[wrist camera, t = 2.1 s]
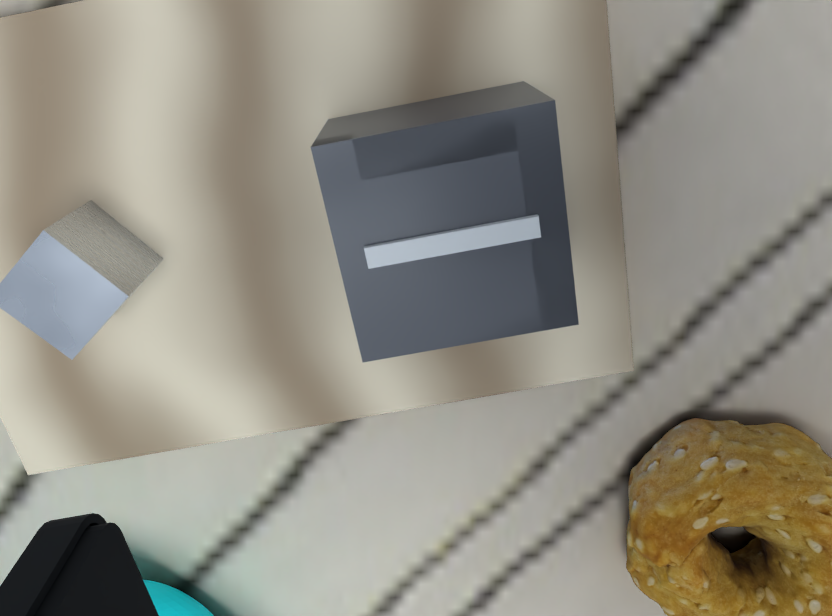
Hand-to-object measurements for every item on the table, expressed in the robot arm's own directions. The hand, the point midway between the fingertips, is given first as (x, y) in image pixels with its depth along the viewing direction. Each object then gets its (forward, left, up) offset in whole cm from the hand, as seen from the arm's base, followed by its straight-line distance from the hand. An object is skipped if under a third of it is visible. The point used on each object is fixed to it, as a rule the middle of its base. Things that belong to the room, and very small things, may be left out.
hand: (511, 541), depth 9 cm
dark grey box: (0, 0, -17) cm, 17 cm away
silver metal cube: (+12, 0, -17) cm, 21 cm away
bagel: (-10, +17, -19) cm, 27 cm away
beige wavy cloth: (+6, 0, -18) cm, 19 cm away
